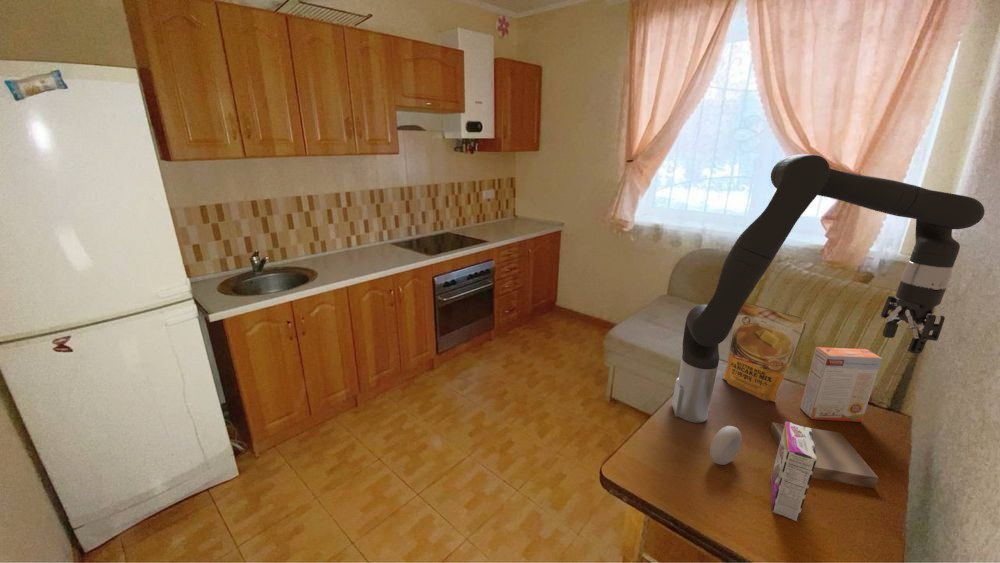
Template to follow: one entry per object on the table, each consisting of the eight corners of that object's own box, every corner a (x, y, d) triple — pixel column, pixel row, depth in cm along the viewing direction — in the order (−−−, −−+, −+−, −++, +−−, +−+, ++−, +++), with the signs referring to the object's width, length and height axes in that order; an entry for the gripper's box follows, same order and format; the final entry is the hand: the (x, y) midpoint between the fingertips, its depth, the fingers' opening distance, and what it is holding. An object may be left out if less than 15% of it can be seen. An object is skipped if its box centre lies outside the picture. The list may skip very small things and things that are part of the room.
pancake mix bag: (725, 373, 139) (741, 298, 130) (786, 400, 124) (809, 317, 115) (715, 378, 135) (730, 302, 126) (776, 407, 120) (799, 322, 111)
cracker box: (846, 410, 119) (867, 348, 113) (862, 423, 113) (885, 358, 107) (797, 407, 120) (815, 345, 114) (810, 419, 114) (829, 355, 108)
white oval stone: (727, 450, 102) (734, 417, 99) (740, 458, 99) (748, 425, 96) (703, 464, 97) (710, 430, 94) (716, 474, 94) (724, 439, 91)
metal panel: (795, 474, 95) (798, 464, 94) (769, 431, 109) (772, 422, 108) (874, 488, 91) (878, 477, 90) (837, 441, 106) (840, 432, 105)
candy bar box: (768, 478, 93) (784, 419, 88) (794, 487, 91) (812, 427, 86) (769, 512, 84) (787, 449, 79) (798, 523, 82) (819, 459, 77)
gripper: (883, 272, 99) (863, 331, 105) (929, 290, 86) (904, 356, 91) (918, 274, 98) (896, 334, 103) (970, 293, 85) (943, 360, 90)
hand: (900, 344), depth 97 cm, fingers open, 8 cm apart
